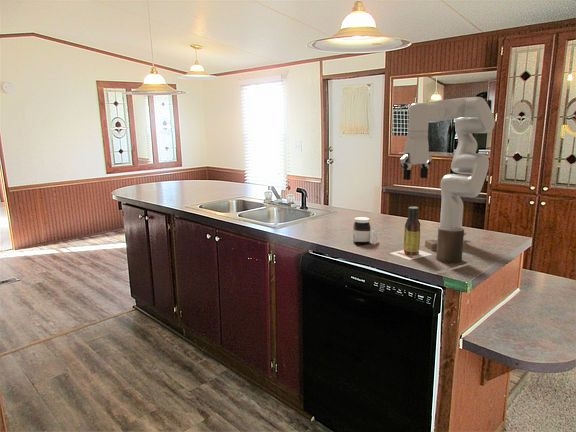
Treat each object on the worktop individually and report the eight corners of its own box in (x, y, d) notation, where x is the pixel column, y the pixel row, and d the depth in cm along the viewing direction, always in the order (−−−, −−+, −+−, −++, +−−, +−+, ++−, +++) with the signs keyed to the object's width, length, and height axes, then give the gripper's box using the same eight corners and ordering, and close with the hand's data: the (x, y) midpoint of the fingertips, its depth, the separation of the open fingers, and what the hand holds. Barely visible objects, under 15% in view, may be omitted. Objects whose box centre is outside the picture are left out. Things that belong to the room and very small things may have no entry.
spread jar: (351, 240, 199) (352, 216, 197) (375, 239, 199) (376, 216, 197) (355, 247, 188) (356, 221, 185) (380, 246, 188) (381, 221, 185)
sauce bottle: (407, 250, 179) (409, 205, 175) (421, 253, 175) (424, 206, 171) (400, 254, 174) (403, 207, 170) (415, 256, 170) (418, 209, 166)
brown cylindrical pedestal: (461, 266, 160) (464, 228, 157) (434, 263, 164) (437, 226, 161) (461, 259, 169) (464, 223, 166) (436, 256, 173) (439, 221, 170)
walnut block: (437, 248, 186) (438, 239, 185) (444, 252, 180) (444, 243, 179) (424, 248, 185) (425, 240, 184) (431, 252, 179) (431, 243, 178)
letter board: (412, 249, 183) (412, 248, 183) (432, 256, 174) (432, 254, 173) (389, 254, 176) (389, 253, 175) (409, 261, 166) (409, 259, 166)
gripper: (425, 135, 172) (422, 176, 176) (395, 135, 163) (393, 179, 167) (440, 135, 166) (437, 178, 169) (409, 136, 157) (407, 181, 160)
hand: (415, 178), depth 168 cm, fingers open, 9 cm apart
